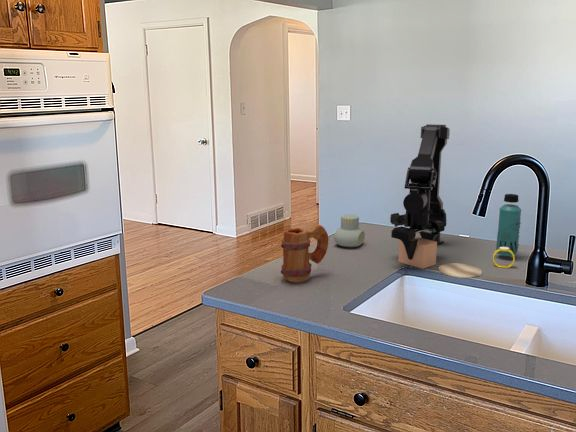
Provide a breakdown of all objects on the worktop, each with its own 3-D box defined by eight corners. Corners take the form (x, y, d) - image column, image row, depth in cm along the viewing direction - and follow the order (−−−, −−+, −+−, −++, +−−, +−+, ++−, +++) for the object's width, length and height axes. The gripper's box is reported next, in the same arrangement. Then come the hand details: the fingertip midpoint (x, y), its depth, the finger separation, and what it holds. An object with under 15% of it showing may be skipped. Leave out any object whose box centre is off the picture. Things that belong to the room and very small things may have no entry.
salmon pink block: (411, 257, 180) (412, 235, 179) (435, 264, 173) (437, 241, 172) (398, 261, 176) (399, 239, 174) (422, 268, 169) (423, 245, 168)
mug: (287, 287, 155) (287, 232, 151) (274, 278, 162) (273, 226, 158) (334, 278, 161) (335, 226, 158) (319, 270, 168) (319, 220, 165)
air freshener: (355, 251, 188) (356, 221, 185) (331, 248, 191) (332, 218, 189) (366, 242, 197) (367, 214, 195) (343, 240, 201) (343, 211, 198)
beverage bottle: (494, 259, 178) (499, 195, 173) (495, 253, 184) (500, 191, 179) (517, 262, 175) (523, 197, 171) (517, 256, 181) (523, 193, 177)
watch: (492, 268, 171) (492, 248, 169) (492, 265, 173) (492, 246, 172) (514, 269, 169) (514, 249, 167) (514, 266, 171) (514, 246, 170)
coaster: (454, 262, 175) (454, 260, 175) (490, 271, 166) (490, 270, 166) (430, 270, 168) (430, 268, 168) (466, 281, 159) (466, 279, 159)
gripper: (416, 198, 183) (414, 246, 186) (377, 206, 171) (376, 257, 174) (447, 203, 174) (444, 253, 178) (408, 212, 163) (405, 265, 166)
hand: (417, 257), depth 174 cm, fingers closed on salmon pink block, 6 cm apart
